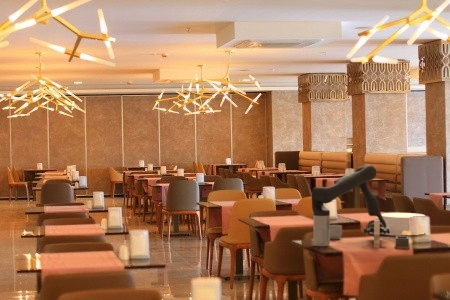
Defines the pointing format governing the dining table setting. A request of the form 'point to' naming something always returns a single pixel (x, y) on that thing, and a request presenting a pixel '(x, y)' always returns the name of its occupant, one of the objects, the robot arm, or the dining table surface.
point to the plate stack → (397, 222)
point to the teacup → (335, 231)
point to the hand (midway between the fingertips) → (376, 232)
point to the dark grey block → (402, 242)
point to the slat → (376, 233)
